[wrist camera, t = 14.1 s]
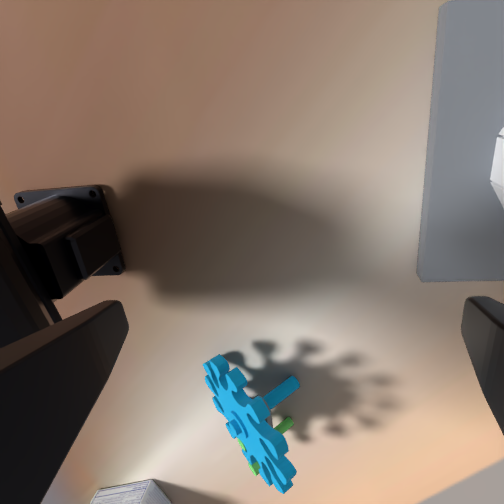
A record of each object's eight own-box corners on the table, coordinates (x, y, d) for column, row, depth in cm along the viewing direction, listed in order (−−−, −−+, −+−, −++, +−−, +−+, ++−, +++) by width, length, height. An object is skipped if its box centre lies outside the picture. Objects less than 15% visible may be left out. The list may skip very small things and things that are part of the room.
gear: (185, 338, 25) (272, 446, 18) (251, 301, 28) (349, 382, 21) (210, 425, 31) (284, 533, 24) (262, 388, 34) (342, 474, 27)
